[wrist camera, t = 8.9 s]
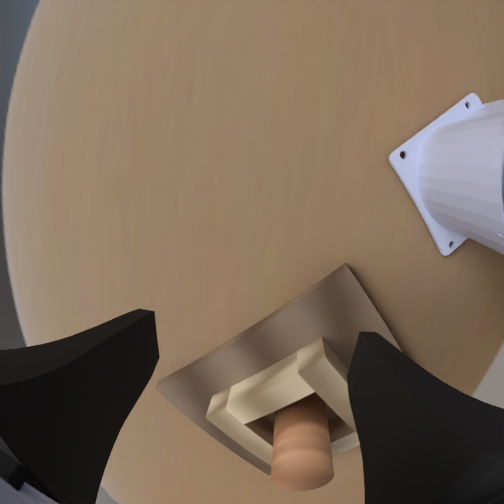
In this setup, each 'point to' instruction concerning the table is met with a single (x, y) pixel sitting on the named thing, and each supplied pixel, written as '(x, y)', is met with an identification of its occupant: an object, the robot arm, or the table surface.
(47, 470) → the robot arm
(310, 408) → the peg
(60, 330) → the table surface
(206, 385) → the socket
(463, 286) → the table surface
